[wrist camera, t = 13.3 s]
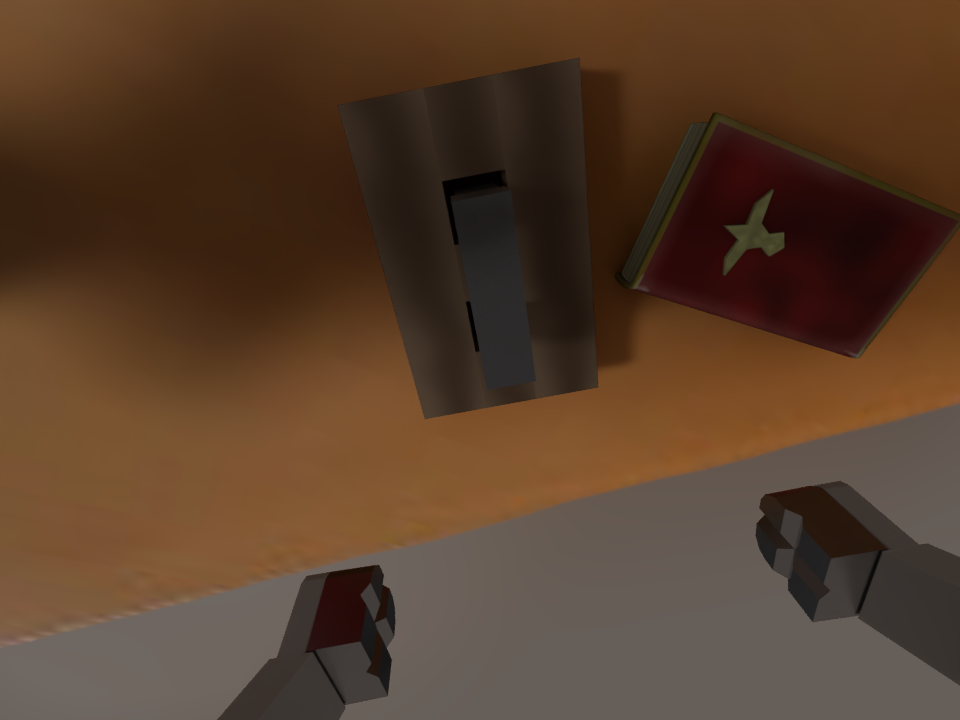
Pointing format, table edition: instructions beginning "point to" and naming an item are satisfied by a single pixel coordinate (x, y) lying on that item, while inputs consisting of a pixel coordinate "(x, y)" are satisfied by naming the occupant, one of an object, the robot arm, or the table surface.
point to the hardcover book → (783, 239)
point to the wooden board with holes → (435, 248)
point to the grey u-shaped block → (494, 281)
